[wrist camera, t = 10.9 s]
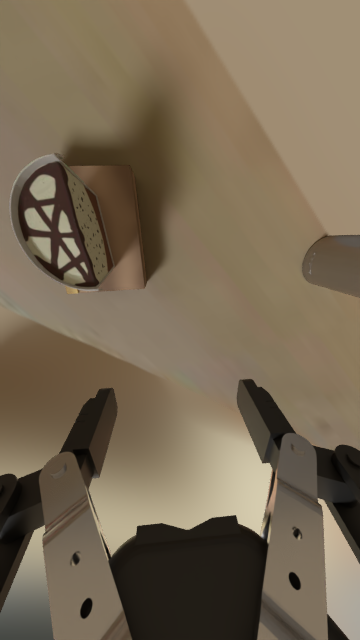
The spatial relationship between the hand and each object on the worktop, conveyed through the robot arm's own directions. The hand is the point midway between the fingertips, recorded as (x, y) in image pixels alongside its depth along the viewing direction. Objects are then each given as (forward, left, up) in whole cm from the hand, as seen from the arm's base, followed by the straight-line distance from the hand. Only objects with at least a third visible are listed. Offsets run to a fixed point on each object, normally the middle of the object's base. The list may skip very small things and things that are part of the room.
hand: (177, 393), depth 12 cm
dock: (+10, -10, -26) cm, 29 cm away
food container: (+11, -10, -21) cm, 26 cm away
